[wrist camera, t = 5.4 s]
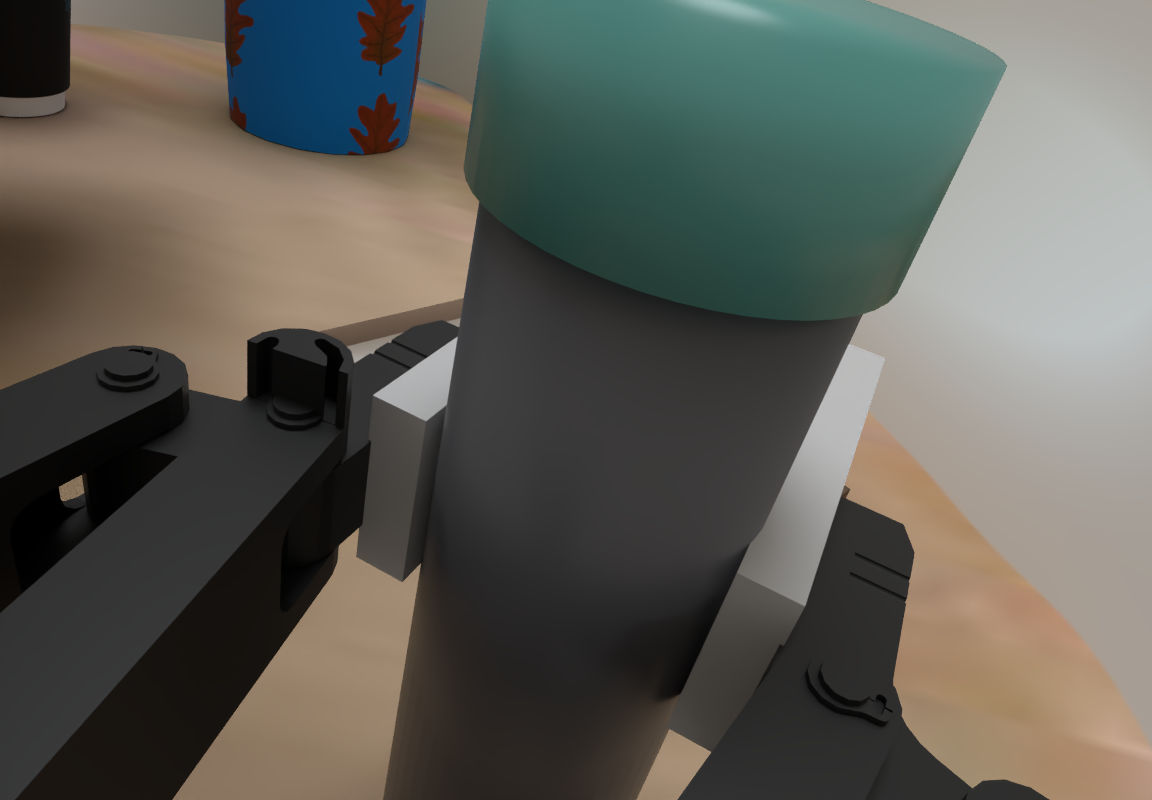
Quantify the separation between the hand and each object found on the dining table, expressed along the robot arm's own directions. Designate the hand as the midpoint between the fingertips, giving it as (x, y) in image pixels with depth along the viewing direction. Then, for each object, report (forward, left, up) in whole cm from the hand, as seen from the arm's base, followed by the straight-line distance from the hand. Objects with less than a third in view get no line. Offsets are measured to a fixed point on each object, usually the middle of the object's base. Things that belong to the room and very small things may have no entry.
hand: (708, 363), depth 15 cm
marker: (+2, -5, -9) cm, 10 cm away
